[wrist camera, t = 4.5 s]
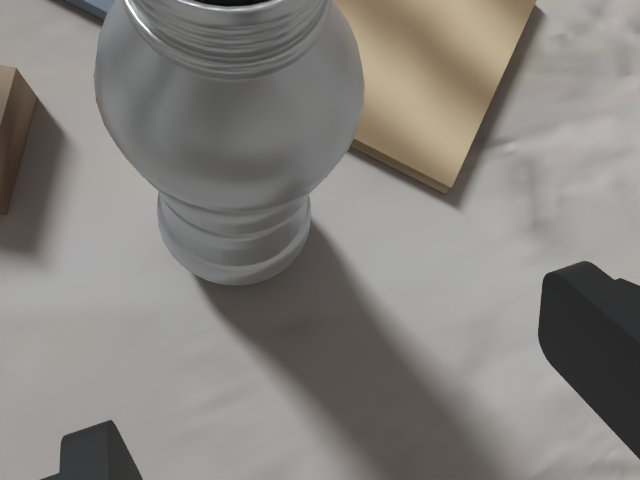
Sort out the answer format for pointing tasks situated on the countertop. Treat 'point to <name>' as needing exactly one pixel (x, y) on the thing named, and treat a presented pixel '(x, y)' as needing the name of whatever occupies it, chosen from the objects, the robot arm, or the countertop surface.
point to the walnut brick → (13, 128)
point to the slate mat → (94, 6)
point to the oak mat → (430, 77)
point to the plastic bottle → (231, 121)
